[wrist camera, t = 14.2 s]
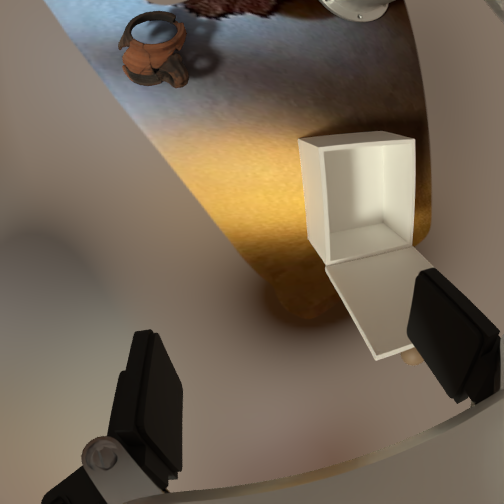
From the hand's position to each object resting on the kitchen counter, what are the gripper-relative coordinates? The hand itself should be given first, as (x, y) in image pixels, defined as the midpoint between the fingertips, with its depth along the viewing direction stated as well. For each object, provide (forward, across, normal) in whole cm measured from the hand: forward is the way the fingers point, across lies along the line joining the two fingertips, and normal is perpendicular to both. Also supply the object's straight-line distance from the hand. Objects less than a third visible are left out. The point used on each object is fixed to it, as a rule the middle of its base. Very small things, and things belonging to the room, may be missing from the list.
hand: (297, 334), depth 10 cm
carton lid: (+19, -17, +16) cm, 30 cm away
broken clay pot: (+37, +7, -16) cm, 41 cm away
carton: (+36, -17, +7) cm, 41 cm away
